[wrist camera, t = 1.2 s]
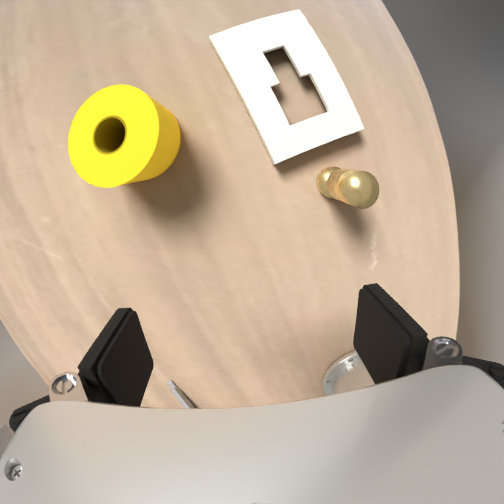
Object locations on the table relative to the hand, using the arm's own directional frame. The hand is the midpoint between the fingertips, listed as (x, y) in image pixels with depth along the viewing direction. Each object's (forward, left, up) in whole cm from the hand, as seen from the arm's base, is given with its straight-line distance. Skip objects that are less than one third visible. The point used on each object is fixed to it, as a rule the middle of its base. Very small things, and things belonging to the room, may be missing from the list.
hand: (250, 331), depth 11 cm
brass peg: (-1, -12, -24) cm, 27 cm away
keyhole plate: (+13, -12, -24) cm, 30 cm away
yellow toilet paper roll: (+14, +7, -24) cm, 29 cm away
